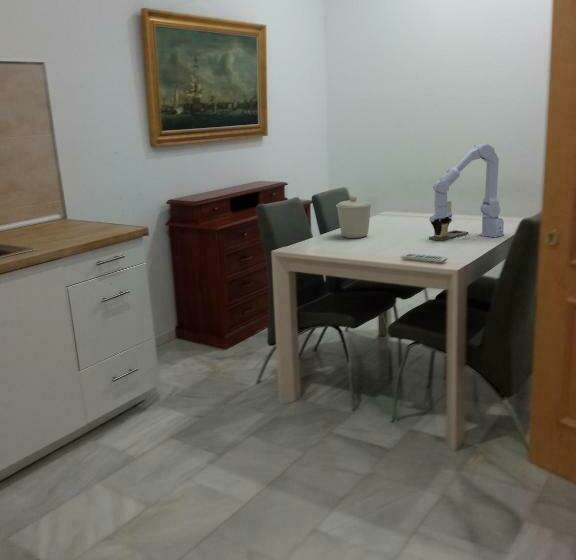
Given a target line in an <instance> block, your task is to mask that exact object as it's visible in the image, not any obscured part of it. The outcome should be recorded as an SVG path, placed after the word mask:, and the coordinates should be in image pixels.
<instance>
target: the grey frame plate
mask: <svg viewBox="0 0 576 560" xmlns="http://www.w3.org/2000/svg"><path fill="white" fill-rule="evenodd" d="M458 233H459V234H458ZM467 234H468V235H469V231H465V230H464V231H463V230H456V229H454V230H448V237H445V238H437V237H434V235H431V236H428V240H430V241H437V242H447V241H448V240H454V239H456V237H457V238H460V236H461V237H464V236H468V235H467ZM463 235H464V236H463Z"/></svg>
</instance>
